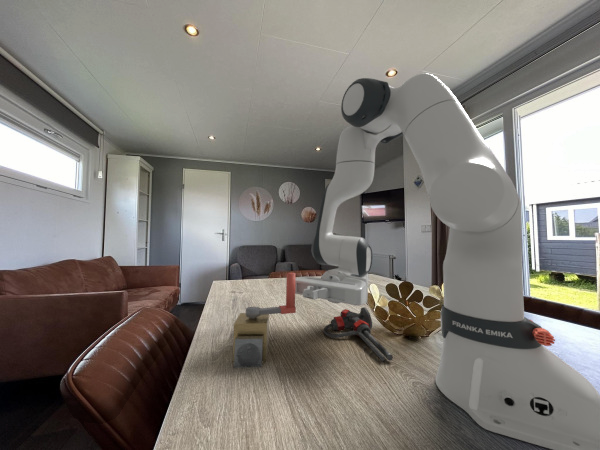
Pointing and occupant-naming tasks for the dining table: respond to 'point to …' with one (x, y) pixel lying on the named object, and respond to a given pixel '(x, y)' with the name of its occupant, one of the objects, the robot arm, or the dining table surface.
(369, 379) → the dining table surface
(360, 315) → the valve
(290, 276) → the lever
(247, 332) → the lever valve base
